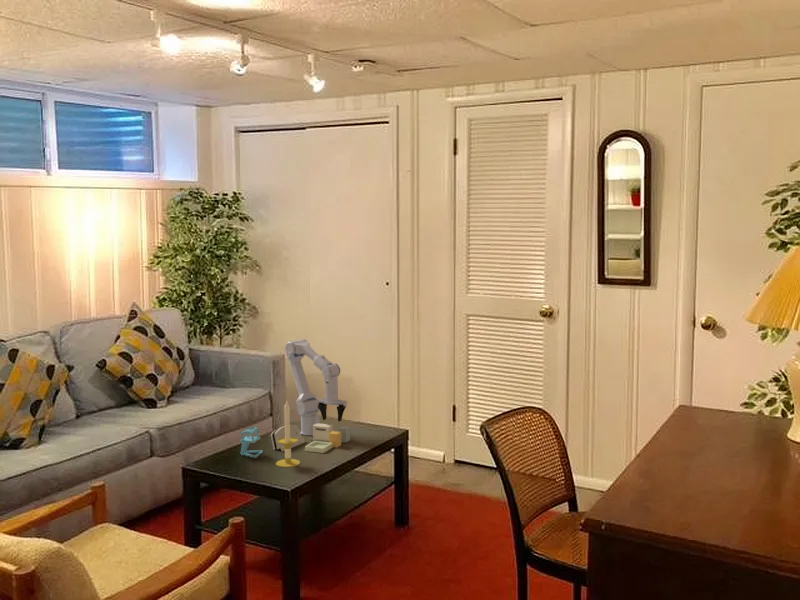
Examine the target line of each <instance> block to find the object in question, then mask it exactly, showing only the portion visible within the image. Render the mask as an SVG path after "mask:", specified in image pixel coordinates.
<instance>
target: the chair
mask: <svg viewBox="0 0 800 600" xmlns="http://www.w3.org/2000/svg"><path fill="white" fill-rule="evenodd" d="M259 432H260V428H258V427H256V426H251V427H248V428H245V430H243V431H240V436H241V439H240V440H239V443H241V448H240V454H241V455H240V456H244V455H245V456H244V457H248V456H249V457H250V458H253V457H254V459H257V458H258V457H259V456H261V455H262V454H263V453H264V451H263V450H262V449H260V450H248V448H249V446H250V444H255V443H256V442H257V441H260V439H261V436H259ZM244 434H246V436H244ZM255 435H256V436H255ZM260 454H261V455H260ZM249 457H248V458H249Z"/></svg>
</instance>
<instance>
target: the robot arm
mask: <svg viewBox="0 0 800 600" xmlns="http://www.w3.org/2000/svg"><path fill="white" fill-rule="evenodd" d="M284 347H285V348H284V350H285V354H286V358H287V360H288V362H289V363H288V364H289V367H290V370H291V373H292V376H293V379H294V383H295V386H296V389H297V393H298V395H299V396H298V397H297V399H296V400H295V403H296V410H297V413H298V414H299V416H300V430H299V431H300V433H301V435H304V436H305V435H306V436H313V425H315V424H317V423H321V422H320V421H321V419H320V415H319V413H318V412H320V414H321V418H322V420H323V421H325V420H327V409H328V408H327V406H328V405H330V406H331V405H332V406H336V410H337V420H338V421H337V422H341V421H342V420H343V419H342V418H343V415H344V411H345V409H346V408H347V406H348V401H347V400H342V399H339V384H338V383H339V378H338V377H339V376H340V374H341V367H340V365H339V364H338V363H337V362H336V363H333V362H331V361H330V360H329V359H328V358H327V357H326V356H325V355H323V354H320V355H319V354H318V353H317V352H316V351H315V350H314V349H313V347H311V346H310V342H309V341H308V340H307V339H303V338H302V339H299V340H293V341H292V340H291V341H287V342H286V344H285V346H284ZM305 356H306V357H308V358H309V359H310V360H312V361H313V365H314V366H315V367H317V369H318V370H320V372H321V373H322V376H323V381H324V389H325V390H324V392H325V393H324V395H325V396H324V397H325V398H317V396H316V395H315V394H314V393H312V392H311V389H310V386H309V382H308V380H307V377H306V374H305V371H304V367H303V364H302V359H303V358H304V357H305Z"/></svg>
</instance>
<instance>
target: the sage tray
mask: <svg viewBox="0 0 800 600" xmlns="http://www.w3.org/2000/svg"><path fill="white" fill-rule="evenodd" d="M333 448H334V447H333V443H330V442H321V441H313V442H310V443H308V444H307V445H305V446H304V451H305V452H311V453H319V454H324V453H326V452H328V451H329V450H331V449H333Z"/></svg>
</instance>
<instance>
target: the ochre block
mask: <svg viewBox="0 0 800 600" xmlns="http://www.w3.org/2000/svg"><path fill="white" fill-rule="evenodd" d="M329 442H330V443H333V447H332V448H339V447H341V446H342V442H341V432H338V430H336V431H335V430H333V431H332V432H330V433H329ZM338 446H339V447H338Z"/></svg>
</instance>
